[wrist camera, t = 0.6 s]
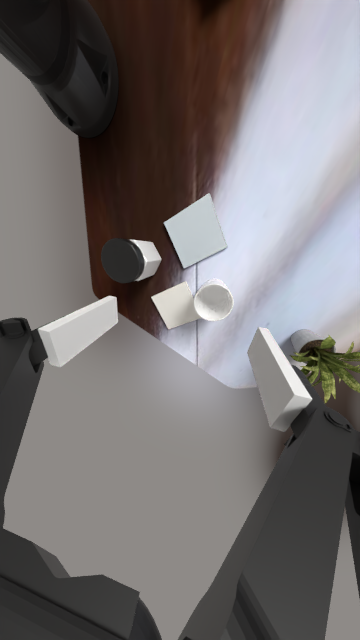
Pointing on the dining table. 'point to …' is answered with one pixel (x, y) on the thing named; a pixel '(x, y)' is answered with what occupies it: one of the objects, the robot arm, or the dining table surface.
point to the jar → (129, 259)
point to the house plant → (324, 361)
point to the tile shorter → (176, 305)
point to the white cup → (213, 300)
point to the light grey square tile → (196, 232)
